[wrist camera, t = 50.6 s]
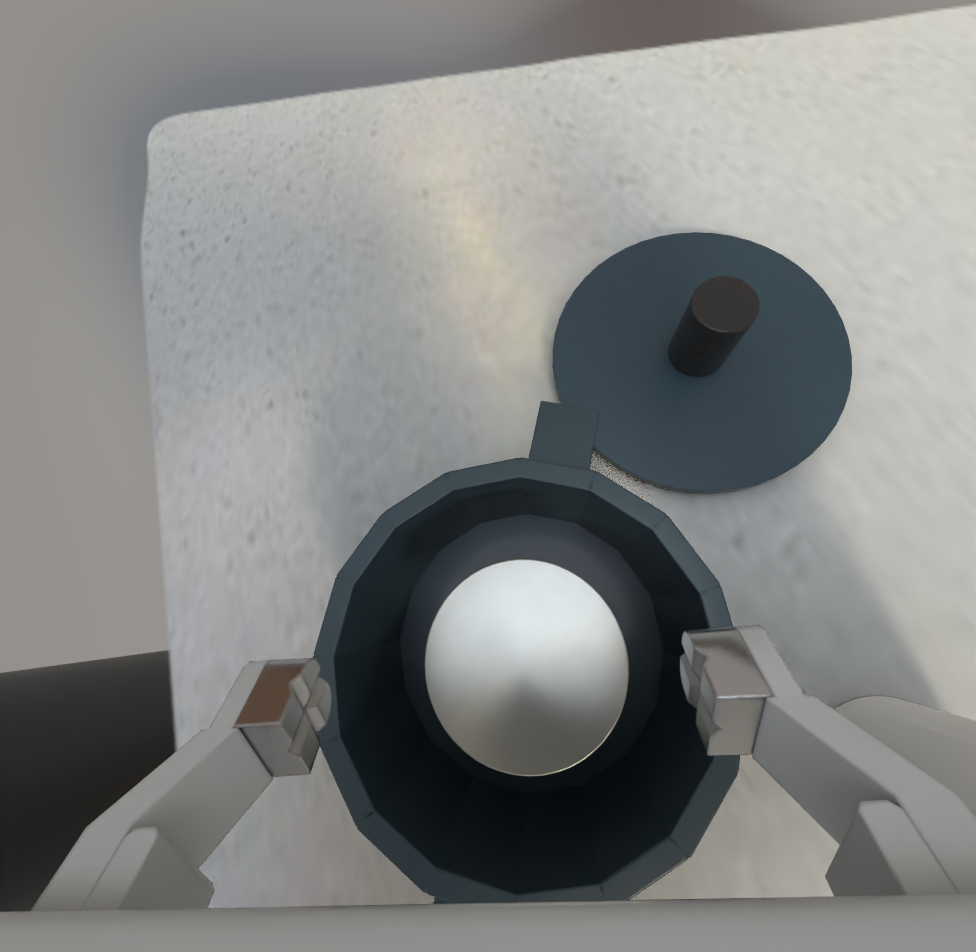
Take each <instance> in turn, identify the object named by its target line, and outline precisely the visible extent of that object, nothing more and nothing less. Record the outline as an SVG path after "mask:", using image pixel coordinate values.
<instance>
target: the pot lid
mask: <svg viewBox="0 0 976 952" xmlns="http://www.w3.org/2000/svg"><path fill="white" fill-rule="evenodd" d="M553 371H554V378H555V384H556V388H557V391H558V395H559V398H560V401H561V403H562V404H563V405H569V406H576V407H582V408H588V409H594V410H599V411H600V415H599V420H598V425H597V431H596V436H595V442H594V447H593V449H594V450H595V451H596V452H597V453H598V454H599V455H600V456H602V457H603V458H604V459H605V460H607V461H608V462H610V463H611V464H613V465H614V466H615V467H617V468H618V469H620V470H622V471H624V472H626V473H628V474H630V475H631V476H633V477H635V478H637V479H640V480H643V481H645V482H648V483H651V484H653V485H656V486H660V487H664V488H668V489H673V490H678V491H686V492H694V493H718V492H726V491H734V490H739V489H743V488H747V487H751V486H755V485H758V484H761V483H763V482H766V481H768V480H771V479H773V478H776V477H778V476H779V475H781V474H783V473H785V472H786V471H788V470H790V469H792V468H793V467H795V466H797V465H798V464H799V463H801V462H802V461H803V460H805V459H806V458H807V457H809V456H810V455H811V454H812V453H813V452H814V451H815V450H816V449H817V448H818V447H819V446H820V445H821V444H822V443H823V442H824V441H825V440H826V438H827V437H828V435H829V434H830V433H831V431H832V430H833V428H834V427H835V426H836V424H837V422H838V420H839V418H840V416H841V414H842V412H843V410H844V407H845V404H846V401H847V397H848V394H849V391H850V384H851V376H852V355H851V350H850V344H849V339H848V336H847V333H846V330H845V327H844V324H843V321H842V319H841V317H840V315H839V313H838V311H837V309H836V307H835V305H834V304H833V303H832V301H831V300H830V298H829V297H828V295H827V294H826V293H825V291H824V290H823V289H822V288H821V287H820V286H819V285H818V283H817V282H816V281H815V280H814V279H813V278H812V277H811V276H810V275H809V274H807V273H806V272H805V271H804V270H803V269H801V268H800V267H799V266H798V265H796V264H795V263H793V262H792V261H790V260H789V259H787V258H786V257H784V256H783V255H781V254H779V253H777V252H775V251H773V250H771V249H769V248H767V247H765V246H762V245H759V244H757V243H754V242H752V241H749V240H745V239H741V238H737V237H733V236H728V235H722V234H715V233H695V232H694V233H678V234H671V235H666V236H660V237H656V238H653V239H649V240H646V241H642V242H640V243H637V244H635V245H632V246H630V247H628V248H625V249H624V250H622V251H620V252H618V253H616V254H615V255H613V256H611V257H610V258H608V259H607V260H605V261H604V262H603V263H601V264H600V265H598V266H597V267H596V268H595V269H594V270H593V271H592V272H591V273H590V274H589V275H587V276H586V277H585V279H584V280H583V281H582V282H581V283H580V285H579V286H578V287H577V288H576V289H575V291H574V292H573V294H572V295H571V297H570V299H569V300H568V302H567V303H566V305H565V308H564V310H563V312H562V314H561V317H560V319H559V323H558V326H557V329H556V333H555V339H554V347H553Z"/></svg>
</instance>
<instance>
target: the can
mask: <svg viewBox="0 0 976 952" xmlns="http://www.w3.org/2000/svg"><path fill="white" fill-rule="evenodd" d="M425 678H426V684H427V690H428V694H429V697H430V700H431V704H432V706H433V708H434V711H435V713H436V715H437V717H438V719H439V721H440V722H441V724H442V726H443V727H444V729H445V731H446V732H447V733H448V734H449V736H450V737H451V738H452V740H453V741H454V742H455V743H456V744H457V745H458V746H459V747H460V748H461V749H462V750H463V751H464V752H466V753H467V754H468V755H470V756H471V757H472V758H474V759H475V760H477V761H478V762H480V763H482V764H484V765H485V766H487V767H490V768H492V769H495V770H497V771H500V772H503V773H507V774H512V775H517V776H544V775H549V774H553V773H558V772H560V771H563V770H566V769H568V768H571V767H572V766H574V765H576V764H578V763H580V762H582V761H583V760H584V759H586V758H587V757H588V756H590V755H591V754H592V753H594V752H595V751H596V750H597V749H598V748H599V746H600V745H601V744H602V743H603V742H604V741H605V740H606V738H607V737H608V736H609V734H610V733H611V732H612V730H613V728H614V726H615V725H616V723H617V721H618V719H619V717H620V714H621V712H622V709H623V706H624V703H625V699H626V695H627V690H628V681H629V660H628V654H627V647H626V643H625V640H624V636H623V633H622V630H621V628H620V626H619V623H618V621H617V619H616V617H615V615H614V613H613V612H612V610H611V608H610V607H609V605H608V604H607V603H606V601H605V600H604V599H603V597H602V596H601V595H600V594H599V593H598V592H597V591H596V590H595V589H594V588H593V587H592V586H591V585H590V584H589V583H588V582H586V581H585V580H584V579H583V578H581V577H580V576H578V575H577V574H575V573H573V572H572V571H570V570H568V569H566V568H563V567H561V566H559V565H556V564H553V563H550V562H546V561H541V560H535V559H512V560H505V561H501V562H497V563H493V564H491V565H488V566H486V567H483V568H481V569H479V570H478V571H476V572H474V573H472V574H471V575H469V576H468V577H467V578H465V579H464V580H463V581H461V582H460V583H459V584H458V585H457V586H456V587H455V588H454V589H453V590H452V591H451V592H450V594H449V595H448V596H447V597H446V599H445V600H444V601H443V603H442V605H441V606H440V608H439V609H438V611H437V613H436V615H435V618H434V620H433V622H432V625H431V628H430V631H429V634H428V638H427V643H426V649H425Z"/></svg>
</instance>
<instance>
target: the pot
mask: <svg viewBox="0 0 976 952" xmlns="http://www.w3.org/2000/svg"><path fill="white" fill-rule="evenodd" d="M599 415H600V411H599V410H594V409H588V408H582V407H576V406H569V405H563V404H557V403H551V402H545V401H541V403H540V408H539V412H538V417H537V422H536V426H535V431H534V436H533V440H532V445H531V450H530V454H529V459H527V458H515V459H510V460H505V461H500V462H495V463H490V464H485V465H480V466H475V467H470V468H465V469H460V470H455V471H450V472H447V473H444V474H443V475H441V476H440V477H438V478H437V479H435V480H433V481H432V482H430V483H429V484H427V485H426V486H424V487H423V488H421V489H419V490H418V491H416V492H415V493H413V494H412V495H410V496H409V497H407V498H405V499H404V500H402V501H401V502H399V503H398V504H396V505H395V506H393V507H391V508H390V509H388V510H387V511H385V512H384V514H382V515H381V516H380V517H379V519H378V520H377V521H376V523H375V524H374V526H373V527H372V528H371V530H370V531H369V532H368V534H367V535H366V536H365V538H364V539H363V540H362V542H361V543H360V544H359V546H358V547H357V549H356V550H355V551H354V553H353V554H352V555H351V557H350V558H349V559H348V561H347V562H346V563H345V565H344V566H343V568H342V569H341V570H340V572H339V573H338V574H337V577H336V579H335V583H334V586H333V590H332V593H331V596H330V600H329V603H328V607H327V610H326V614H325V617H324V621H323V624H322V627H321V631H320V634H319V638H318V641H317V645H316V648H315V652H314V656H313V658H316V659H317V661H318V663H319V664H320V666H321V670H320V673H319V675H320V676H321V677H323V678H324V679H326V680H327V681H328V683H329V685H330V687H331V692H332V707H331V713H330V716H329V719H328V723H327V724H326V725H325V726H324V727H323V728H322V729H321V730H320V731H319V732H318V738H319V741H320V747H321V750H322V752H323V754H324V756H325V758H326V761H327V763H328V765H329V767H330V769H331V772H332V774H333V776H334V778H335V781H336V783H337V785H338V787H339V789H340V792H341V794H342V796H343V798H344V800H345V803H346V805H347V807H348V809H349V812H350V814H351V816H352V818H353V820H354V823H355V825H356V826H357V827H358V828H357V829H358V830H359V831H360V832H361V833H362V834H363V835H364V836H365V837H366V838H367V839H368V840H369V841H371V842H372V843H373V844H374V845H375V846H376V847H377V848H378V849H379V850H380V851H381V852H382V853H383V854H384V855H385V856H386V857H387V858H388V859H389V860H390V861H391V862H392V863H394V864H395V865H396V866H397V867H398V868H399V869H400V870H401V871H402V872H403V873H404V874H405V875H406V876H407V877H408V878H409V879H410V880H411V881H412V882H413V883H414V884H415V885H417V886H418V887H419V888H420V889H421V890H422V891H423V892H424V893H427V894H428V895H431V896H434V897H435V899H434V904H457V903H509V902H562V901H616V900H630V899H631V898H633V897H634V896H636V895H637V894H638V893H640V892H641V891H643V890H644V889H646V888H647V887H649V886H650V885H652V884H653V883H654V882H656V881H657V880H659V879H660V878H662V877H663V876H665V875H666V874H667V873H669V872H670V871H672V870H673V869H675V868H676V867H678V866H679V865H681V864H682V863H683V862H685V861H686V860H688V857H691V856H692V854H693V853H694V851H695V849H696V847H697V845H698V844H699V842H700V840H701V838H702V837H703V835H704V833H705V831H706V829H707V828H708V826H709V824H710V822H711V821H712V819H713V817H714V815H715V813H716V812H717V810H718V808H719V806H720V805H721V803H722V801H723V799H724V797H725V796H726V794H727V792H728V790H729V789H730V787H731V785H732V783H733V781H734V780H735V778H736V776H737V774H738V773H737V772H738V771H739V761H740V755H708V756H707V753H706V750H705V748H704V745H703V742H702V740H701V737H700V734H699V731H698V729H697V726H696V715H697V710H696V709H695V708H694V707H692V706H691V705H690V704H689V703H688V701H687V698H686V695H685V692H684V689H683V685H682V681H681V674H680V657H681V656H682V655H683V654H684V653H685V650H684V648H683V645H682V634H683V633H684V631H686V630H698V629H710V628H721V627H733V625H732V622H731V618H730V615H729V611H728V608H727V605H726V601H725V598H724V594H723V591H722V588H721V586H720V583H719V582H718V580H717V579H716V578H715V577H714V575H713V574H712V573H711V571H710V570H709V569H708V567H707V566H706V565H705V563H704V562H703V561H702V560H701V558H700V557H699V556H698V554H697V553H696V552H695V550H694V549H693V548H692V546H691V545H690V544H689V543H688V541H687V540H686V539H685V537H684V536H683V535H682V533H681V532H680V531H679V530H678V528H677V527H676V526H675V524H674V523H673V522H672V520H671V519H670V518H669V516H666V514H665V513H664V512H662V511H660V510H659V509H657V508H656V507H654V506H652V505H651V504H649V503H647V502H646V501H644V500H643V499H641V498H639V497H638V496H636V495H634V494H633V493H631V492H630V491H628V490H626V489H625V488H623V487H621V486H620V485H618V484H617V483H615V482H613V481H612V480H610V479H609V478H607V477H605V476H604V475H602V474H600V473H599V472H596V471H593V470H589V469H590V464H591V458H592V453H593V447H594V442H595V436H596V431H597V425H598V420H599ZM512 559H535V560H541V561H546V562H550V563H553V564H556V565H559V566H561V567H563V568H566V569H568V570H570V571H572V572H573V573H575V574H577V575H578V576H580V577H581V578H583V579H584V580H585V581H586V582H588V583H589V584H590V585H591V586H592V587H593V588H594V589H595V590H596V591H597V592H598V593H599V594H600V595H601V596H602V597H603V599H604V600H605V601H606V603H607V604H608V605H609V607H610V608H611V610H612V612H613V613H614V615H615V617H616V619H617V621H618V623H619V626H620V628H621V630H622V633H623V636H624V640H625V643H626V647H627V654H628V660H629V681H628V690H627V695H626V699H625V703H624V706H623V709H622V712H621V714H620V717H619V719H618V721H617V723H616V725H615V726H614V728H613V730H612V732H611V733H610V734H609V736H608V737H607V738H606V740H605V741H604V742H603V743H602V744H601V745H600V746H599V748H598V749H597V750H596V751H595V752H594V753H592V754H591V755H590V756H588V757H587V758H586V759H584V760H583V761H582V762H580V763H578V764H576V765H574V766H572V767H571V768H568V769H566V770H563V771H560V772H558V773H553V774H549V775H544V776H517V775H512V774H507V773H503V772H500V771H497V770H495V769H492V768H490V767H487V766H485V765H484V764H482V763H480V762H478V761H477V760H475V759H474V758H472V757H471V756H470V755H468V754H467V753H466V752H464V751H463V750H462V749H461V748H460V747H459V746H458V745H457V744H456V743H455V742H454V741H453V740H452V738H451V737H450V736H449V734H448V733H447V732H446V731H445V729H444V727H443V726H442V724H441V722H440V721H439V719H438V717H437V715H436V713H435V711H434V708H433V706H432V704H431V700H430V697H429V694H428V690H427V684H426V678H425V649H426V643H427V638H428V634H429V631H430V628H431V625H432V622H433V620H434V618H435V615H436V613H437V611H438V609H439V608H440V606H441V605H442V603H443V601H444V600H445V599H446V597H447V596H448V595H449V594H450V592H451V591H452V590H453V589H454V588H455V587H456V586H457V585H458V584H459V583H460V582H461V581H463V580H464V579H465V578H467V577H468V576H469V575H471V574H472V573H474V572H476V571H478V570H479V569H481V568H483V567H486V566H488V565H491V564H493V563H497V562H501V561H505V560H512Z"/></svg>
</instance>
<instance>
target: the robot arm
mask: <svg viewBox="0 0 976 952" xmlns="http://www.w3.org/2000/svg"><path fill="white" fill-rule="evenodd" d="M682 645H683V648H684V650H685V653H684V654H683V655H682V656H681V657H680V674H681V681H682V685H683V689H684V692H685V695H686V698H687V701H688V703H689V704H690V705H691V706H692V707H694V708H695V709H696V710H697V715H696V726H697V729H698V731H699V734H700V737H701V740H702V742H703V745H704V748H705V750H706V753H707V756H708V755H752V757H753V758H754V759H755V760H756V761H757V762H758V763H759V764H760V765H761V766H762V767H763V768H764V769H765V770H766V771H767V772H768V773H769V774H770V775H771V776H772V777H773V778H774V779H775V780H776V781H777V782H778V783H779V784H780V785H781V786H782V787H783V788H784V789H785V790H786V791H787V792H788V793H789V794H790V795H791V796H792V797H793V798H794V799H795V800H796V801H797V802H798V803H799V804H800V805H801V806H802V807H803V808H804V809H805V810H806V811H807V812H808V813H809V814H810V815H811V816H812V817H813V818H814V819H815V820H816V821H817V822H818V823H819V824H820V825H821V826H822V827H823V828H824V829H825V830H826V831H827V832H828V833H829V834H830V835H831V836H832V837H833V838H834V839H835V840H836V841H837V842H838V843H839V844H840V846H839V848H838V850H837V852H836V854H835V857H834V859H833V861H832V863H831V865H830V867H829V869H828V871H827V873H826V875H825V877H826V879H827V881H828V884H829V886H830V888H831V890H832V892H833V894H834V896H833V897H778V898H724V899H670V900H616V901H562V902H509V903H457V904H404V905H351V906H299V907H246V908H208V905H209V903H210V900H211V898H212V896H213V893H214V891H215V890H214V887H213V883H212V882H211V881H210V880H209V879H208V878H207V877H206V876H205V875H204V874H203V873H202V872H201V871H200V870H199V867H200V866H201V865H202V864H203V863H204V861H205V860H206V859H207V858H208V857H209V855H210V854H211V853H212V852H213V851H214V849H215V848H216V847H217V846H218V845H219V843H220V842H221V841H222V840H223V839H224V837H225V836H226V835H227V834H228V833H229V831H230V830H231V829H232V828H233V827H234V825H235V824H236V823H237V822H238V821H239V819H240V818H241V817H242V816H243V815H244V813H245V812H246V811H247V810H248V809H249V807H250V806H251V805H252V804H253V803H254V801H255V800H256V799H257V798H258V797H259V795H260V794H261V793H262V792H263V791H264V789H265V788H266V787H267V786H268V785H269V783H270V782H271V781H272V780H273V778H272V777H279V776H292V775H305V774H310V773H311V770H312V767H313V764H314V761H315V758H316V755H317V752H318V749H319V746H320V741H319V738H318V735H317V733H318V732H319V731H320V730H321V729H322V728H323V727H324V726H325V725H326V724H327V723H328V719H329V716H330V713H331V707H332V692H331V687H330V685H329V683H328V681H327V680H326V679H324V678H323V677H321V676H320V675H319V673H320V670H321V666H320V664H319V663H318V661H317V659H316V658H306V659H283V660H265V661H250V662H249V663H248V664H247V665H245V666H244V667H243V669H242V670H241V672H240V674H239V676H238V678H237V679H236V681H235V683H234V685H233V687H232V688H231V690H230V692H229V694H228V695H227V697H226V699H225V701H224V703H223V704H222V706H221V708H220V710H219V711H218V713H217V715H216V717H215V719H214V720H213V722H212V724H211V726H210V728H209V729H207V730H201V731H200V732H199V733H198V734H197V735H196V736H194V737H193V738H192V739H191V740H190V741H188V742H187V743H186V744H185V745H184V746H182V747H181V748H180V749H179V750H178V751H176V752H175V753H174V754H173V755H172V756H170V757H169V758H168V759H167V760H166V761H165V762H163V763H162V764H161V765H160V766H159V767H157V768H156V769H155V770H154V771H153V772H151V773H150V774H149V775H148V776H147V777H145V778H144V779H143V780H142V781H141V782H139V783H138V784H137V785H136V786H135V787H134V788H132V789H131V790H130V791H129V792H128V793H126V794H125V795H124V796H123V797H122V798H120V799H119V800H118V801H117V802H116V803H114V804H113V805H112V806H111V807H110V808H108V809H107V810H106V811H105V812H104V813H103V814H101V815H100V816H99V817H98V818H97V819H95V820H94V821H93V822H92V823H91V824H89V825H88V826H87V827H86V829H85V830H84V832H83V833H82V835H81V836H80V838H79V839H78V841H77V842H76V844H75V845H74V847H73V848H72V850H71V851H70V853H69V854H68V856H67V857H66V859H65V860H64V862H63V863H62V865H61V866H60V868H59V869H58V871H57V872H56V874H55V875H54V877H53V878H52V880H51V881H50V883H49V884H48V886H47V887H46V889H45V890H44V892H43V893H42V895H41V896H40V898H39V899H38V901H37V902H36V904H35V905H34V907H33V908H32V910H31V911H30V912H0V952H976V817H975V816H974V815H973V813H972V812H971V811H970V809H969V808H968V807H967V805H966V804H965V803H964V801H963V800H962V799H961V797H960V796H959V795H958V794H956V793H955V792H953V791H952V790H950V789H949V788H947V787H946V786H945V785H943V784H942V783H940V782H939V781H937V780H936V779H934V778H933V777H931V776H930V775H929V774H927V773H926V772H924V771H923V770H921V769H920V768H918V767H917V766H915V765H914V764H913V763H911V762H910V761H908V760H907V759H905V758H904V757H902V756H901V755H899V754H898V753H897V752H895V751H894V750H892V749H891V748H889V747H888V746H886V745H885V744H883V743H882V742H881V741H879V740H878V739H876V738H875V737H873V736H872V735H870V734H869V733H867V732H866V731H865V730H863V729H862V728H860V727H859V726H857V725H856V724H854V723H853V722H851V721H850V720H849V719H847V718H846V717H844V716H843V715H841V714H840V713H838V712H837V711H835V710H834V709H833V708H831V707H830V706H828V705H827V704H825V703H824V702H822V701H821V700H820V699H818V698H817V697H815V696H814V695H804V693H803V692H802V690H801V688H800V687H799V685H798V683H797V682H796V680H795V678H794V677H793V675H792V674H791V672H790V670H789V669H788V667H787V665H786V664H785V662H784V660H783V659H782V657H781V655H780V654H779V652H778V651H777V649H776V647H775V646H774V644H773V642H772V641H771V639H770V637H769V636H768V634H767V633H766V631H765V629H764V628H762V627H761V626H760V625H754V626H740V627H721V628H710V629H698V630H686V631H684V633H683V634H682Z"/></svg>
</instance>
